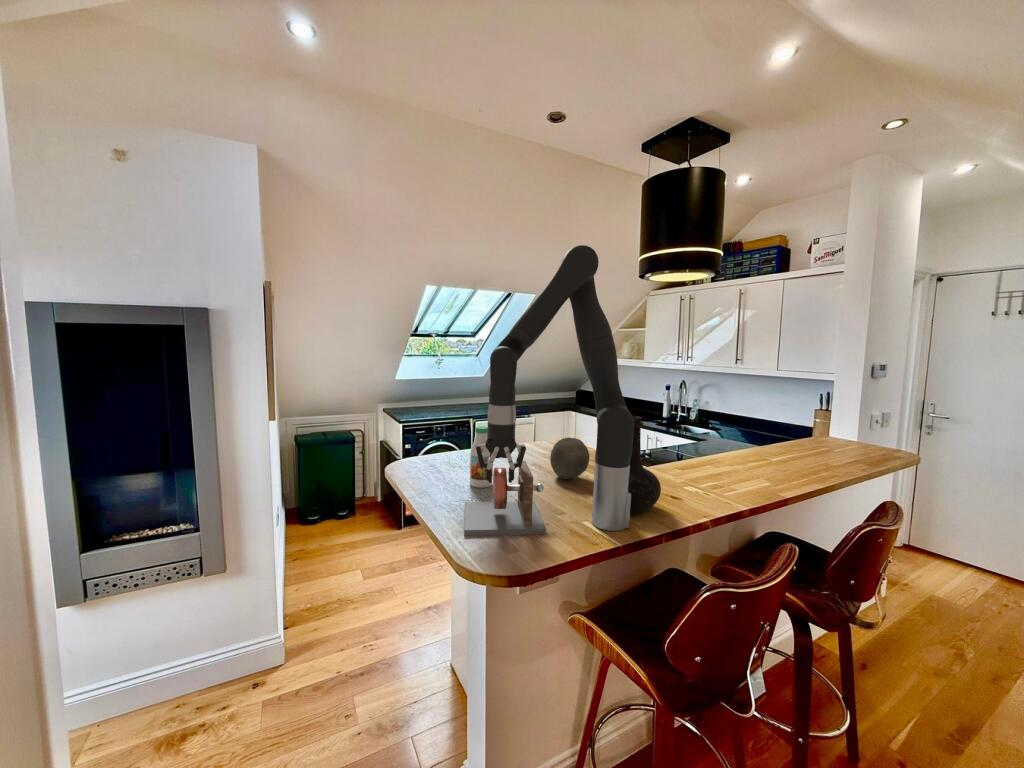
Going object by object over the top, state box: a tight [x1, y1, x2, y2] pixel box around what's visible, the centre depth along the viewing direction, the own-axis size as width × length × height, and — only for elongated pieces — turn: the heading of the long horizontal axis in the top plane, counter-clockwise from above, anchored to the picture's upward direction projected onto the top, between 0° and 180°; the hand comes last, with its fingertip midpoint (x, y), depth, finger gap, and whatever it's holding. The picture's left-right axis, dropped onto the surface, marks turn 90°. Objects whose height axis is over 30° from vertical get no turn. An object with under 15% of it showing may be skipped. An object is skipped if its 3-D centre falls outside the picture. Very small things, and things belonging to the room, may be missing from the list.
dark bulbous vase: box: [628, 415, 662, 514], centre depth 124 cm, size 18×18×28 cm
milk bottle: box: [469, 425, 494, 489], centre depth 140 cm, size 8×8×20 cm
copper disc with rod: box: [492, 467, 545, 509], centre depth 114 cm, size 14×11×11 cm
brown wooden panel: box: [517, 460, 534, 525], centre depth 114 cm, size 3×14×13 cm, turn 6°
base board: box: [463, 500, 547, 537], centre depth 114 cm, size 21×18×2 cm
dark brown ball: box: [549, 437, 591, 480], centre depth 149 cm, size 14×14×15 cm
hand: (499, 481), depth 113 cm, fingers open, 5 cm apart
